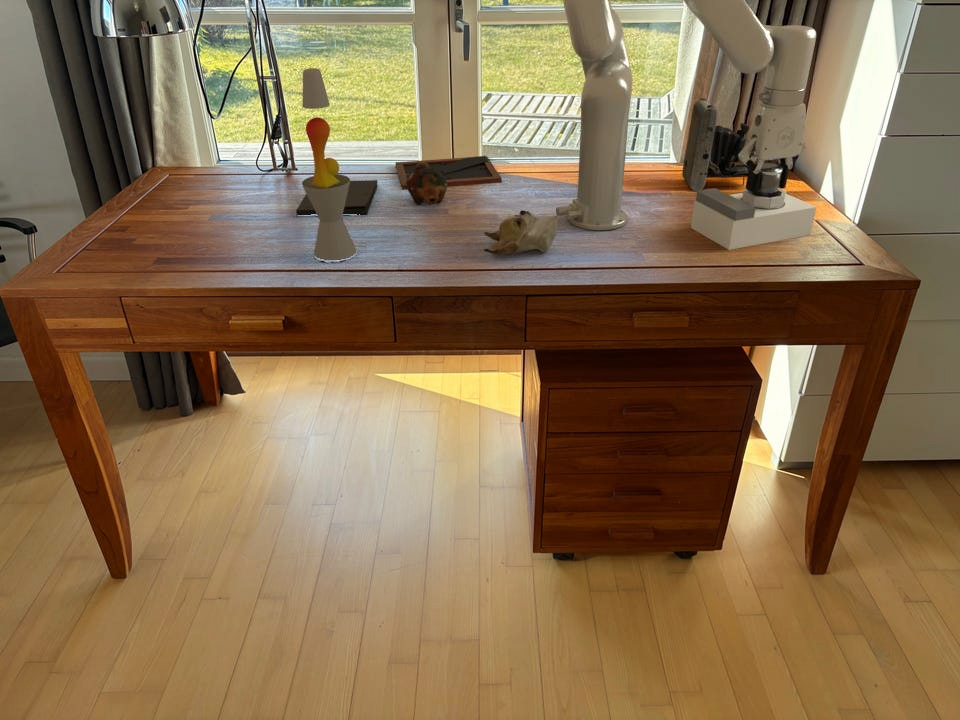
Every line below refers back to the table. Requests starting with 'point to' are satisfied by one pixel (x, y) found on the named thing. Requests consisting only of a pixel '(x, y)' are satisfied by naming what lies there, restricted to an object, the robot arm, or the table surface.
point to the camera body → (750, 218)
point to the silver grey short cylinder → (769, 180)
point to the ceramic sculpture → (523, 234)
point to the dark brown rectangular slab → (348, 199)
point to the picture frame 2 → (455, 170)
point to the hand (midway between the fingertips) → (765, 188)
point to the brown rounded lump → (426, 185)
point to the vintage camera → (711, 148)
